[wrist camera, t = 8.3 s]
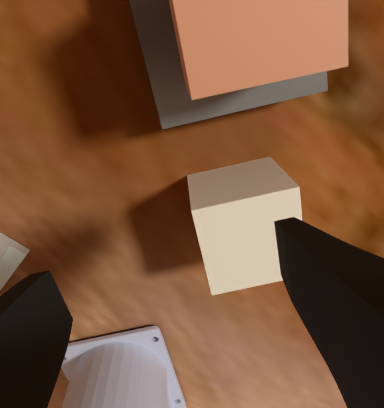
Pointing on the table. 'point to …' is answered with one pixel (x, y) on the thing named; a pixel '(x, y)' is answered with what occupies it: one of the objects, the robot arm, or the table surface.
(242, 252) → the off-white cube
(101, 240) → the table surface
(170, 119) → the gray slab
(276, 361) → the table surface
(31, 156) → the table surface
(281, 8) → the terracotta cube
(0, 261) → the pale picture frame
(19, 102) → the table surface
